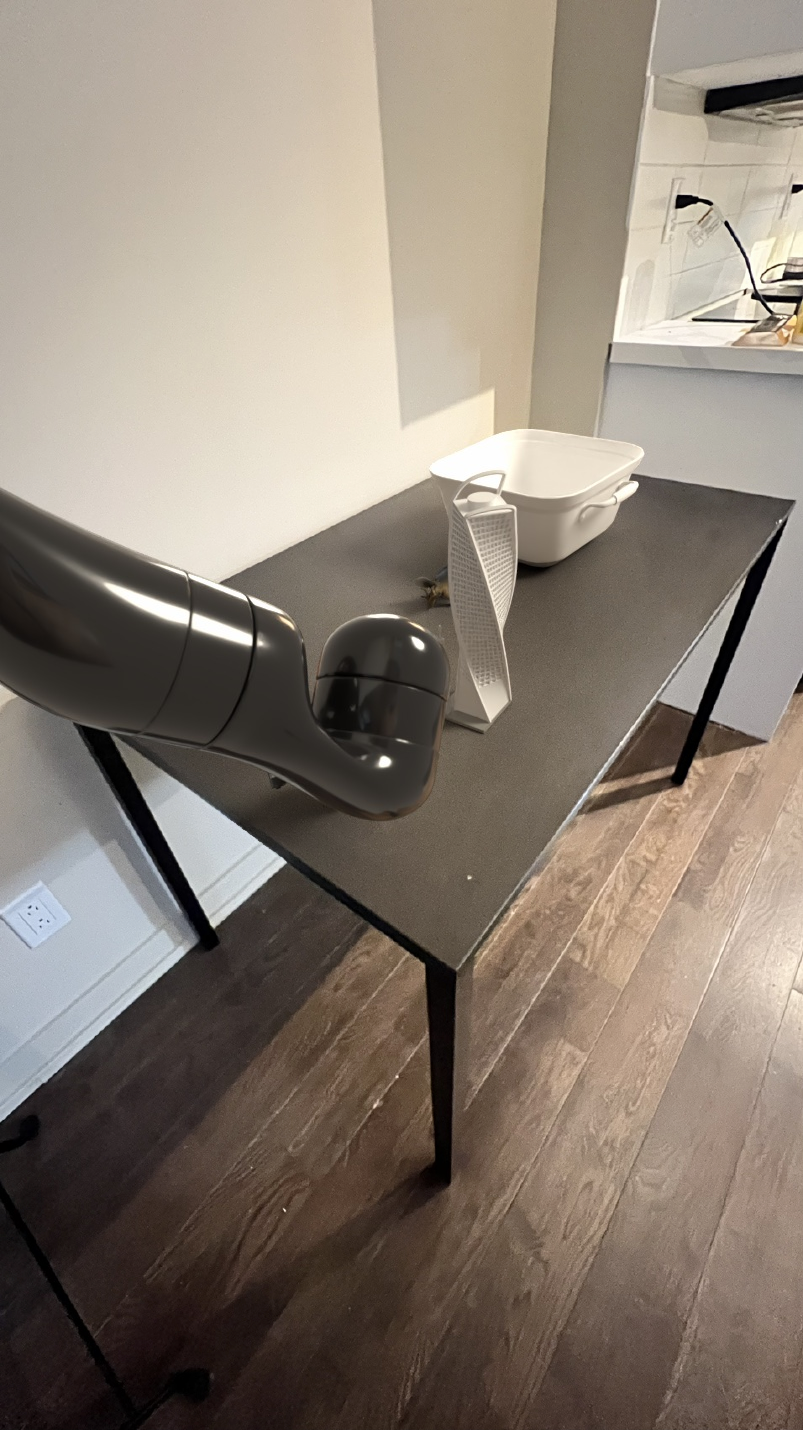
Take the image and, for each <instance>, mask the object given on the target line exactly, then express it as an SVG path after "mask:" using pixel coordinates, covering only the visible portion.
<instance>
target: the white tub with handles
mask: <svg viewBox="0 0 803 1430" xmlns="http://www.w3.org/2000/svg"><path fill="white" fill-rule="evenodd" d="M644 456H645V452H644V448H643V447H640V446H638V445H637V444H634V443H629V442H625V441H619V440H613V439H606V438H599V437H593V436H585V435H578V434H571V433H564V432H558V431H551V430H545V429H534V428H533V429H532V428H524V429H523V428H521V429H513V430H507V431H503V432H500V433H496V434H493V436H489V437H488V438H484V439H482V440H481V441H479V442H476V443H474V444H472V445H469V446H467V447H465V448H463V449H461V450H459V451H456V452H453V453H452V454H449V455H447V456H445V457H442V458H441V459H440V458H439V459H438V460H436V461H435V462H433V463H431V465H430V466H429V469H428V472H429V473H430V475H431V478H432V480H433V482H434V483H435V484H436V485H437V486H438V488H439V491H440V494H441V497H442V501H443V504H444V508H445V511H446V516H447V518H448V519H447V520H449V515H450V500H451V498H452V496H453V494H454V493H455V491H456V489H457V488H458V487H459V486H460V484H462V483H463V482H464V481H465V480H466V479H468V478H470V477H471V476H474V475H476V474H479V473H481V472H485V471H489V470H504V471H506V472H507V473H508V474H507V477H506V480H505V483H504V486H503V489H502V492H501V495H500V496H501V497H502V498H503V500H504V501H505V502H506V503H507V504H509V505H514V506H515V507H516V515H517V538H518V556H517V563H519V564H520V563H521V564H524V565H526V566H527V565H528V566H530V567H536V568H546V567H547V568H548V567H551V566H554V565H557V564H558V563H560V562H561V561H563V560H565V559H566V558H567V557H569V556H570V555H573V554H574V553H575V552H576V551H578V550H579V549H580V548H583V546H585V545H587V544H588V543H590V542H591V541H593V540H594V539H595V538H597V537H598V536H599V535H601V534H602V533H603V532H605V531H607V529H608V528H609V527H610V526H611V525H612V524H613V522H614V521H615V519H616V517H617V513H618V511H619V508H620V506H621V503H622V502H623V501H626V500H627V499H628V498H630V497H631V496H632V495H634V494H635V493H636V492H637V490H638V488H639V482H638V481H637V480H631V479H630V478H631V477H632V473H633V472H634V471H635V470H636V469H637V468H638V467H639V465H640V464H641V462H642V459H643V458H644ZM501 477H502V475H499V474H496V475H489V476H484V477H481V478H478V479H476V480H473V481H472V482H470V483H468V484H467V485H466V486H465V487H464V488H463V489H462V490H461V491H460V493H459V494H458V496H457V498H456V500H460V499H467V497H468V496H469V495H470V494H473V493H476V492H490V493H493V494H496V493H497V489H498V486H499V483H500V480H501Z"/></svg>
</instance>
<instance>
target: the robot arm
mask: <svg viewBox="0 0 803 1430" xmlns="http://www.w3.org/2000/svg"><path fill="white" fill-rule="evenodd" d="M306 648H307V647H306V643H305V640H304V636H303V633H302V630H301V629H300V627H299V625H298V623H297V622H296V621H295V619H293V617H292V616H290V615H289V614H288V613H287V612H286V611H284V610H283V609H281V608H279V607H277V606H275V605H273V604H271V603H269V602H267V601H264V600H263V599H260V598H257V597H255V596H252V595H250V594H247V593H245V592H241V591H239V590H236V589H234V588H233V587H230V586H226V585H224V584H221V583H219V582H217V581H214V580H211V579H209V578H206V577H203V576H201V575H198V574H195V573H193V572H191V571H188V570H186V569H184V568H180V567H178V566H176V565H173V564H171V563H167V562H166V561H163V560H160V559H158V558H155V557H152V556H149V555H148V554H144V553H142V552H139V551H136V550H134V549H132V548H130V547H127V546H125V545H123V544H120V543H119V542H116V541H113V540H111V539H109V538H107V537H104V536H102V535H99V534H98V533H95V532H92V531H91V530H88V529H86V528H84V527H82V526H80V525H77V524H76V523H74V522H72V521H69V520H67V519H65V518H63V517H61V516H58V515H56V514H54V513H52V512H50V511H48V510H46V509H44V508H42V507H40V506H38V505H36V504H34V503H32V502H30V501H28V500H27V499H25V498H23V497H20V496H18V495H17V494H14V493H13V492H11V491H8V490H6V489H4V488H3V487H1V486H0V686H2V687H3V688H5V689H6V690H8V691H9V692H10V693H12V694H14V695H15V696H17V697H19V698H21V699H22V700H24V701H25V702H28V704H30V705H33V706H35V707H37V708H39V709H42V710H43V711H46V712H47V713H49V714H52V715H54V716H57V717H59V718H62V719H64V720H67V721H69V722H72V723H74V724H77V725H81V726H85V727H88V728H92V729H95V730H99V731H103V732H107V733H113V734H118V735H122V736H127V737H132V738H135V739H142V740H147V741H150V742H151V741H152V742H156V743H162V744H167V745H171V746H176V747H181V748H185V749H190V750H191V749H193V750H197V751H201V752H205V753H210V754H214V755H219V756H222V757H226V758H229V759H232V760H234V761H238V762H241V763H243V764H246V765H249V766H251V767H254V768H256V769H258V770H260V771H263V772H265V773H267V776H268V779H269V783H270V787H271V790H280V789H282V787H285V786H286V784H289V785H290V786H292V787H293V788H295V789H297V790H299V791H300V792H302V793H304V794H305V795H307V796H308V797H310V798H312V799H314V800H316V801H317V802H319V803H320V804H323V805H325V806H327V807H329V808H330V809H332V810H335V811H337V812H340V813H342V814H344V815H346V816H350V817H353V818H356V819H359V820H363V821H370V822H391V821H396V820H399V819H402V818H404V817H407V816H408V815H411V814H413V813H414V812H415V811H417V810H418V809H419V808H421V807H422V806H423V805H424V804H425V803H426V802H427V801H428V800H429V798H430V796H431V794H432V792H433V790H434V786H435V782H436V778H437V772H438V767H439V760H440V751H441V744H442V738H443V732H444V726H445V720H446V719H445V714H446V707H447V705H446V702H447V701H448V694H449V688H450V687H451V674H452V671H451V663H450V658H449V657H450V656H449V655H448V652H447V650H446V648H445V645H444V646H443V645H442V643H441V642H440V640H439V639H438V636H437V635H436V634H435V633H434V632H433V631H432V630H430V628H428V627H427V626H425V625H424V624H422V623H420V622H418V621H416V620H415V619H413V618H409V617H407V616H404V615H399V614H393V613H387V612H386V613H384V612H383V613H381V612H380V613H370V614H363V615H361V616H356V617H354V618H352V619H349V620H347V621H346V622H344V623H342V624H340V625H339V626H338V627H336V628H335V629H334V630H333V631H332V632H331V633H330V634H329V636H328V637H327V638H326V639H325V642H324V643H323V646H322V649H321V652H320V656H319V661H318V666H317V672H316V676H315V684H314V687H313V692H312V693H313V694H312V697H311V696H310V685H309V671H308V670H309V669H308V661H307V660H308V659H307V649H306Z"/></svg>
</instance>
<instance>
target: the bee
mask: <svg viewBox="0 0 803 1430" xmlns="http://www.w3.org/2000/svg"><path fill="white" fill-rule="evenodd" d="M414 584H415V585H416V586H417V587H418V588H420V590H421V591H424V592H425V594H426V596H425V595H420V598H421V599H424V600H426V602H427V606H426V607H427V608H426V609H427V610H428V611H429V610H430V609H432V608H433V607H434V606H435V604H436V603H435V602H436V600H437V599H438V598H440V597H441V598H443V599H445V600H447V601H449V602H450V595H449V583H448V565H446V566H442V567H441V568H440V569H439V570H438V572H437V574H436V575H435V578H434V580H433V579H429V578H428V577H426V576H420V577H416V578H415V579H414ZM428 588H429V589H430V590H429V589H428Z"/></svg>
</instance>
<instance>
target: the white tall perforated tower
mask: <svg viewBox="0 0 803 1430" xmlns="http://www.w3.org/2000/svg"><path fill="white" fill-rule="evenodd" d="M496 474H499V475H502V477H501V480H500V483H499V486H498V489H497V493H496V494H493V493H490V492H476V493H473V494H470V495H469V496H468V497H467V499H460V500H456V498H457V496H458V494H459V493H460V491H461V490H462V489H463V488H464V487H465V486H466V485H467V484H468V483H470V482H472V481H473V480H476V479H478V478H481V477H484V476H489V475H496ZM507 474H508V473H507V472H506V471H504V470H489V471H485V472H481V473H479V474H476V475H474V476H471V477H470V478H468V479H466V480H465V481H464V482H463V483H462V484H460V486H459V487H458V488H457V489H456V491H455V493H454V494H453V496H452V498H451V500H450V515H449V519H448V534H447V535H448V537H447V566H448V583H449V595H450V601H449V602H450V603H449V605H450V609H451V616H452V622H453V627H454V629H455V630H454V632H455V635H456V638H457V639H456V640H457V643H458V646H459V649H458V656H457V657H458V659H457V668H456V679H455V690H454V691H453V692H452V694H451V691H452V687H451V686H450V688H449V694H448V701H447V702H446V705H447V707H446V714H445V720H447V721H449V722H452V723H454V724H458V725H460V726H463V727H464V728H465V727H466V728H468V729H470V730H473V731H476V732H479V733H482V734H485V733H486V732H487V731H488V730H489V728H491V726H492V725H493V724H494V723H495V722H496V720H497V719H498V718H499V717H500V716H501V715H502V714H503V713H504V711H505V710H506V709H507V708H508V707H509V705H510V704H511V703H512V701H513V699H512V698H513V697H512V689H511V681H510V680H511V679H510V672H509V665H508V659H507V653H506V648H505V643H504V641H505V640H504V637H503V635H504V627H505V625H506V621H507V618H508V615H509V611H510V608H511V604H512V600H513V596H514V591H515V586H516V580H517V573H518V572H517V570H518V562H517V556H518V538H517V515H516V507H515V506H514V505H509V504H507V503H506V502H505V501H504V500H503V498H502V497H501V496H500V495H501V492H502V489H503V486H504V483H505V480H506V477H507ZM437 627H438V636H437V638H438V639H439V640H440V642H441V643H442V645H443V646H444V647H445V637H444V636H443V633H442V632H443V631H442V627H443V626H442V624H438V625H437Z"/></svg>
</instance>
